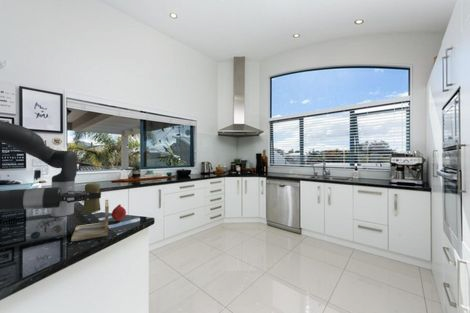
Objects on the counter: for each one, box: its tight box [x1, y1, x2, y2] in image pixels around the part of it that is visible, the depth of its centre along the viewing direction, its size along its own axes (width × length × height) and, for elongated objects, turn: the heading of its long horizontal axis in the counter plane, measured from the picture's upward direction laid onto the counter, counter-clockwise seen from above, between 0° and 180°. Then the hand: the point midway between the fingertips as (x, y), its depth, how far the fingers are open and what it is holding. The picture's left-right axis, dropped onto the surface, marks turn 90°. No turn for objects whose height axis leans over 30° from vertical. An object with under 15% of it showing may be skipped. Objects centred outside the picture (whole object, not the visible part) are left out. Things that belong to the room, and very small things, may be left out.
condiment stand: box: [70, 199, 110, 242], centre depth 81 cm, size 16×11×11 cm
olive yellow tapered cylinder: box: [81, 182, 102, 213], centre depth 81 cm, size 6×6×11 cm
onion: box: [111, 204, 127, 222], centre depth 95 cm, size 6×6×8 cm
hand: (100, 194), depth 82 cm, fingers closed on olive yellow tapered cylinder, 3 cm apart
